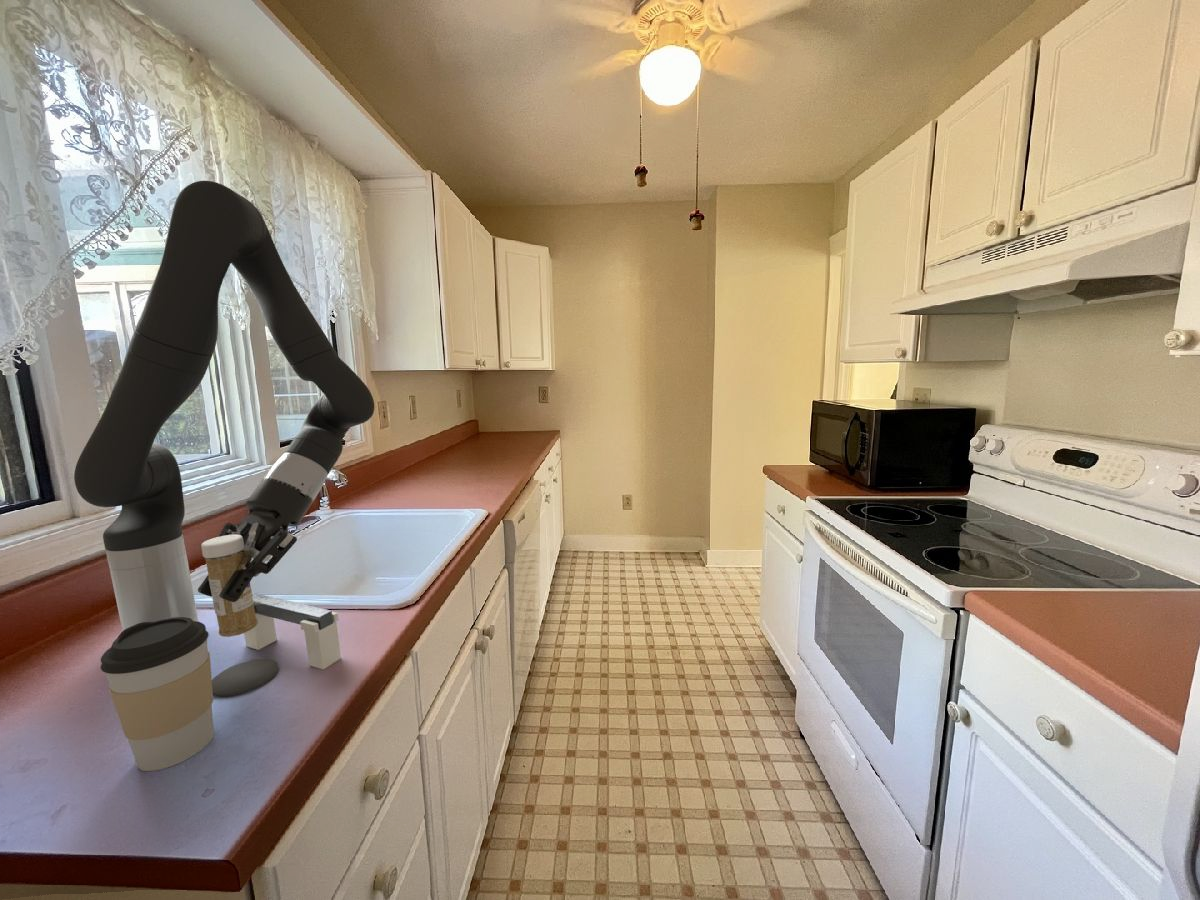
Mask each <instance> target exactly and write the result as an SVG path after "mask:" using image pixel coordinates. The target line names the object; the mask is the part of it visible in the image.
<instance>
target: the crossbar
mask: <svg viewBox="0 0 1200 900" xmlns="http://www.w3.org/2000/svg"><path fill="white" fill-rule="evenodd" d="M252 596H253V605H254V610H255V613H257V614H261V615H265V616H268V617H272V618H274V619H277V620H279V621H284V622H289V623H292V624H296V625H300V626H301V624H300V622H301V621H303V620H307V621H311V622H315V623H318V627H319V630H322V629H324V628H326V627H327V626H329V625H331V624H333V617H332V612H333V611H332V610H330V609H326V608H322V607H318V606H317V607H316V606H312V605H308V604H303V603H301V602H300V603H299V602H295V601H292V600H291V601H290V600H287V599H282V598H277V597H273V596H270V595H269V596H268V595H264V594H260V593H255V592H254V593H252Z"/></svg>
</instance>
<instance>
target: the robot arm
mask: <svg viewBox="0 0 1200 900" xmlns="http://www.w3.org/2000/svg"><path fill="white" fill-rule="evenodd" d="M260 211H261V210H259V209H258V207H256V206H255V204H254V203H252V202H251V201H250V200H248V199H247V198H245V197H244V196H242V195H240V193H238V192H236V191H234V190H233V189H231V188H229V187H228V186H226V185H223V184H221V183H219V182H216V181H212V180H198V181H194V182H192V183H189V184H188V185H186V186H185V187H184V188H183V189H181V191H180V192H179V193H178V195H177V196H176V198H175V201H174V203H173V206H172V211H171V215H170V220H169V225H168V230H167V234H166V239H165V244H164V248H163V253H162V257H161V260H160V264H159V267H158V269H157V273H156V275H155V278H154V279H153V283H152V285H151V287H150V290H149V292H148V295H147V297H146V301H145V303H144V306H143V309H142V312H141V315H140V317H139V319H138V321H137V323H136V325H135V327H134V328H135V329H134V330H133V334H132V336H131V339H130V341H129V344H128V347H127V349H126V353H125V357H124V358H123V359H124V360H123V363H122V365H121V369H120V371H119V373H118V375H117V378H116V381H115V383H114V385H113V388H112V390H111V393H110V395H109V398H108V401H107V403H106V406H105V408H104V411H103V412H102V414H101V416H100V418H99V420H98V422H97V424H96V425H95V427H94V430H93V432H92V433H91V435H90V437H89V438H88V440H87V442H86V443H85V445H84V448H83V449H82V450H81V451H82V452H81V454H80V455H79V457H78V459H77V463H76V464H75V470H74V478H73V479H74V480H73V481H74V485H75V488H76V491H77V493H78V494H79V496H80V497H81V498H82V499H83V500H84V501H85V502H86V503H88V504H90V505H93V506H96V507H100V508H114V507H115V508H116V507H121V510H120V512H119V515H118V516H117V518H116V519H115V520H114V521H113V522H112V523H111V524H110V525H109V526H108V527H107V528H106V529H105V530H104V532H103V533H102V541H103V545H104V549H105V554H106V559H107V563H108V567H109V572H110V577H111V582H112V587H113V592H114V596H115V600H116V605H117V607H116V608H117V610H118V616H119V620H120V625H121V630H122V631H124V630H125V629H127V628H129V627H131V626H134V625H136V624H138V623H142V622H155V621H159V620H163V619H168V618H175V617H187V618H191V619H192V620H193V621H197V622H199V617H198V611H197V605H196V600H195V594H194V589H193V588H194V587H193V584H192V578H191V573H190V572H191V571H190V565H189V561H188V557H187V551H186V546H185V541H184V535H183V530H182V524H183V521H184V519H185V514H186V513H185V509H186V508H185V501H184V492H183V483H182V482H183V481H182V476H181V470H180V466H179V463H178V461H177V459H176V457H175V456H174V454H173V453H172V452H171V450H170V449H169V448H167V447H166V446H164V445H163V444H160V443H159V442H156V441H155V440H156V438H157V436H158V434H159V433H160V430H161V428H162V426H163V425H164V424H166V421H168V419H169V418H171V416H173V414H174V413H175V412H176V411H177V410H178V409H179V408H180V407H181V406H182V405H183V404H185V402H186V400H188V398H190V397H191V395H193V394H194V392H195V391H196V389H197V388H198V387H199V385H200V384H201V383H202V381H203V379H204V377H205V375H206V373H207V370H208V368H209V365H210V362H211V360H212V358H213V355H214V352H215V350H216V345H217V341H218V333H219V296H220V291H221V287H222V284H223V282H224V279H225V276H226V274H227V273H228V271H229V268H230V265H231V266H233V267H234V269H235V270H236V271H237V272H238V273H239V274H240V276H241V277H242V278H243V280H244V282H245V283H246V284H247V286H248V288H249V290H250V291H251V293H252V295H253V297H254V298H255V301H256V302H257V304H258V306H259V309H260V311H261V314H262V317H263V320H264V321H265V322H264V323H265V324H266V326H267V328H268V330H269V333H270V334H271V336H272V339H273V340H274V342H275V343H276V346H277V348H279V350H280V352H281V353H282V355H283V356H284V357H285V359H286V360H287V362H288V363H289V365H290V366H291V368H292V370H293V371H294V372H295V374H296V375H297V376H298V377H299V378H300V380H302V381H304V382H305V381H306V382H312V383H314V384H315V386H317V388H318V389H319V390H320V391H321V392H322V394H321V395H320V396H319V397H318V398H317V399H316V401H315V402H314V403H313V405H312V407H311V408H310V410H309V411H308V413H307V416H306V417H305V420H304V421H303V424H302V427H301V428H300V431H299V432H298V434H297V435H295V437H294V438H293V440H291V442H290V444H289V445H288V446H287V448H286V449H285V451H284V452H283V454H282V455H281V456H280V457H279V458H278V459H277V460H276V461H275V462H274V463H273V465H272V466H271V467H269V470H268V471H267V472H266V474H265V475H264V477H263V478H262V479H261V481H260V482H259V484H258V485H257V487H255V489H254V491H253V492H252V493H251V495H250V496H249V497H248V499H247V500H246V501H245V506H246V507H247V509H248V510H249V514H247V516H245V518H243V519H242V520H241V521H240V523H238V524H233V523H231V522H226V523H225V525H224V526H223V528H222V529H221V531H220V533H219V535H218V537H220V536H225V535H241V536H242V537H243V541H244V548H243V550H242V553H243V555H244V556H243V558H242V561H241V563H240V565H239V567H238V569H239V570H240V571H237V570H236V571H235V572H234V574H233V575H232V577H231V578H230V579H229V581H228V582H227V584H226V585H225V587H224V588H223V590H222V591H221V593H220V595H219V596H220V598H222V599H225V600H228V601H231V602H236V601H237V600H238V599H239V597H240V596H241V595H242V593H243V592H244V590H245V589H246V587H247V586H248V584H249V583H250V584H251V581H252V579H253V578H254V577H255V578H256V577H257V576H259V575H260V574H264V575H268V574H269V573H270V572H271V571H272V570H273V569H274V567H275V566H277V564H278V563H279V562H280V561H281V559H282V558H283V557H284V556H285V555H286V554H287V553H288V552H289V551H290V549H291V548H292V547H293V546H294V545H295V544H296V542H297V540H298V538H297V536H295V535H293V534H291V533H290V532H288V530H289V527H290V528H291V527H292V528H293V527H297V526H298V525H300V523H301V521H302V520H303V518H304V516H305V515H306V513H307V512H308V510H309V508H310V507H311V505H312V504H313V503H314V501H315V499H316V497H317V496H318V494H319V493H320V492H321V490H322V487H323V486H324V483H325V481H326V480H327V477H328V475H329V474H330V472H331V471H332V469H333V468H334V466H335V465H336V463H337V462H338V460H339V458H340V457H341V455H342V452H343V449H344V447H343V442H342V441H343V439H344V438H345V435H346V433H347V432H348V431H349V430H350V429H351V428H353V427H356V426H358V425H362V424H364V423H366V422H368V421H369V420H370V419H371V418H372V417H373V415H374V412H375V408H376V407H375V400H374V396H373V394H372V392H371V391H370V389H369V387H368V386H367V385H366V383H364V381H363V380H362V379H361V378H360V377H359V376H358V374H356V373H355V371H353V370H352V368H351V367H350V366H349V365H347V363H346V362H345V361H343V360H342V359H341V357H340V356H339V355H338V353H337V351H336V349H335V348H334V345H332V342H330V340H329V339H328V337H327V335H326V333H325V332H324V330H323V329H322V327H321V326H320V324H319V322H318V321H317V320H316V318H315V317H314V315H313V313H312V312H311V310H310V308H309V307H308V306H307V304H306V301H304V299H303V298H302V296H301V294H300V292H299V290H298V289H297V287H296V286H295V284H294V282H293V280H292V277H291V276H290V274H289V273H288V270H287V269H286V266H285V264H284V262H283V261H282V258H281V256H280V253H279V252H278V249H277V246H276V245H275V242H274V239H273V238H272V235H271V233H270V230H269V228H268V226H267V224H266V222H265V219H264V217H263V215H262V213H261V212H260ZM197 592H198V593H199V594H202V595H203V596H204V595H205V596H207V597H210V598H212V594H211V589H210V584H209V575H208V574H207V576H206V577H205V579H204V580H203V581H202V583H201V584H200V585H199V587H198V589H197ZM122 631H121V632H122Z"/></svg>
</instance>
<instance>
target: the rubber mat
mask: <svg viewBox="0 0 1200 900" xmlns="http://www.w3.org/2000/svg"><path fill="white" fill-rule="evenodd" d="M278 670H279V663H278V662H277V660H276V659H273V658H268V657H265V658H263V657H262V658H255V659H251V660H246V661H243V662H239V663H237V664H235V665H232V666H230V667H228V668H226V669H224V670H223V671H221V672H220V673H218V674H217V675H215V676H214V677H213V678H212V691H213V697H217V698H220V697H221V698H225V697H233V696H238V695H241V694H245V693H247V692H250V691H253V690H255V689H257V688H260V687H261V686H263V685H264V684H266V683H268V682H269V681H270V680H272V679H273V678H274V677H275V676H276V674H277V673H278Z"/></svg>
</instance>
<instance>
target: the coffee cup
mask: <svg viewBox="0 0 1200 900" xmlns="http://www.w3.org/2000/svg"><path fill="white" fill-rule="evenodd" d="M206 628H207V627H206V625H205V624H204V623H202V622H200V621H198V622H197V621H193V620H192V619H191V618H187V617H175V618H168V619H163V620H159V621H155V622H142V623H138V624H136V625H134V626H131V627H129V628H127V629H125V630H124V631H121V632H120V634H119V635H118V636H117V637H116V639H115V640H114V641H113V642H112V644H111V647H109V648H108V649H107V650H105V652H104V653H103V654H102V655H101V657H100V663H101V664H100V670H101V671H102V672H103V673H105V676H106V679H107V682H108V685H109V686H108V690H109V694H110V696H111V699H112V702H113V706H114V708H115V711H116V714H117V716H118V717H117V718H118V719H119V722H120V725H121V728H122V731H123V734H124V737H125V738H126V739H127V740H128V743H129V746H130V749H131V752H132V754H133V758H134V760H135V764H136V767H137V768H138V769H139V770H140V771H144V772H155V771H160V770H161V771H162V770H164V769H167V768H168V769H169V768H171V767H173V766H175V765H178V764H181V763H182V762H184V761H186V760H188V759H190V758H191V757H193V756H195V755H196V754H198V753H199V752H200V751H202V750H203V749H204V748H205V747H207V745H209V743H210V742H211V741H212V740H213V738H214V736H215V735H214V734H215V728H214V714H213V703H214V696H213V691H212V679H213V678H212V667H211V666H212V665H211V654H210V652H209V651H208V638H209V636H210V635H209V632H208V631H207V630H206Z"/></svg>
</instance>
